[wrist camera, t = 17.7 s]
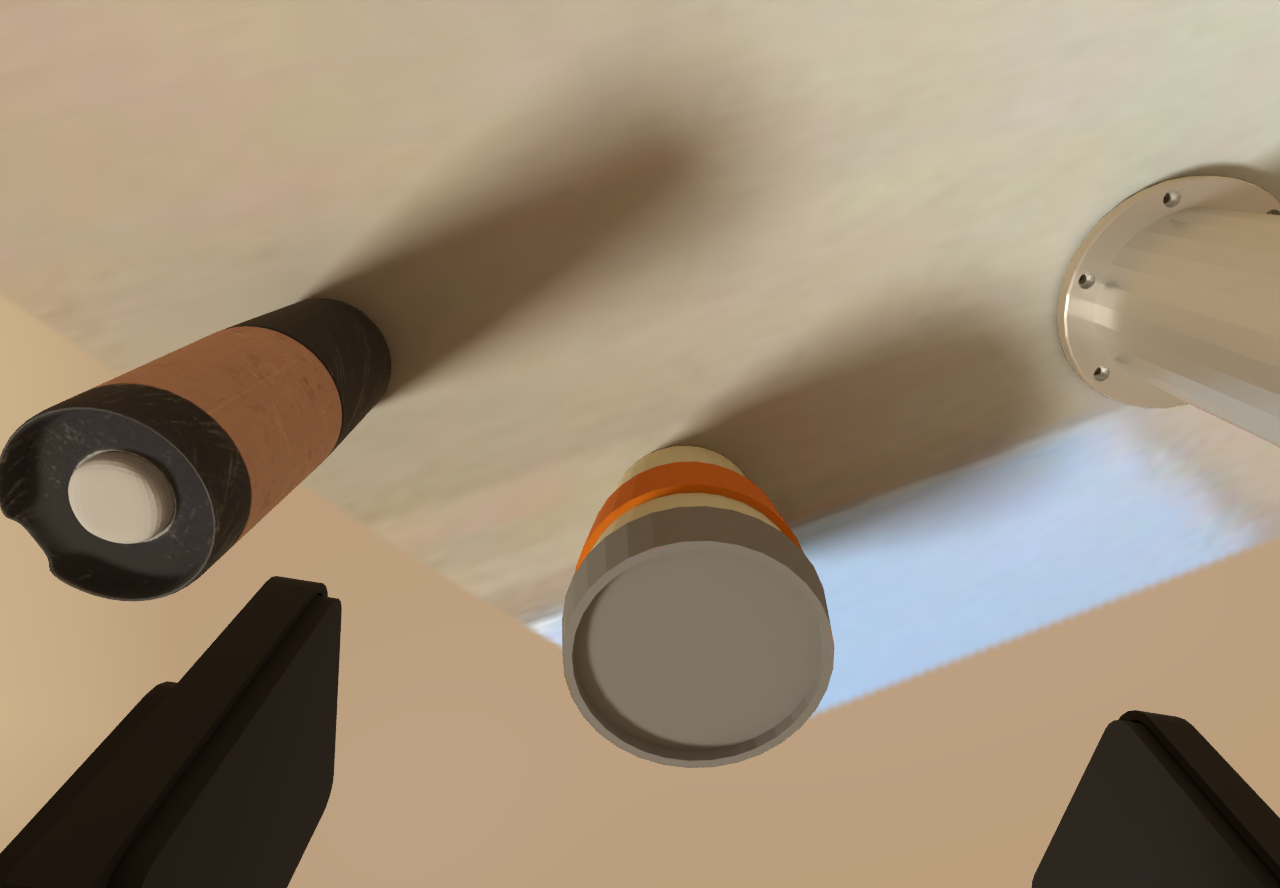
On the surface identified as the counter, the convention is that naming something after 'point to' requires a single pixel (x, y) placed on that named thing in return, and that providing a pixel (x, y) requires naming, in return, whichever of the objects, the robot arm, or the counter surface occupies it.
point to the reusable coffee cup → (694, 616)
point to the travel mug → (190, 448)
